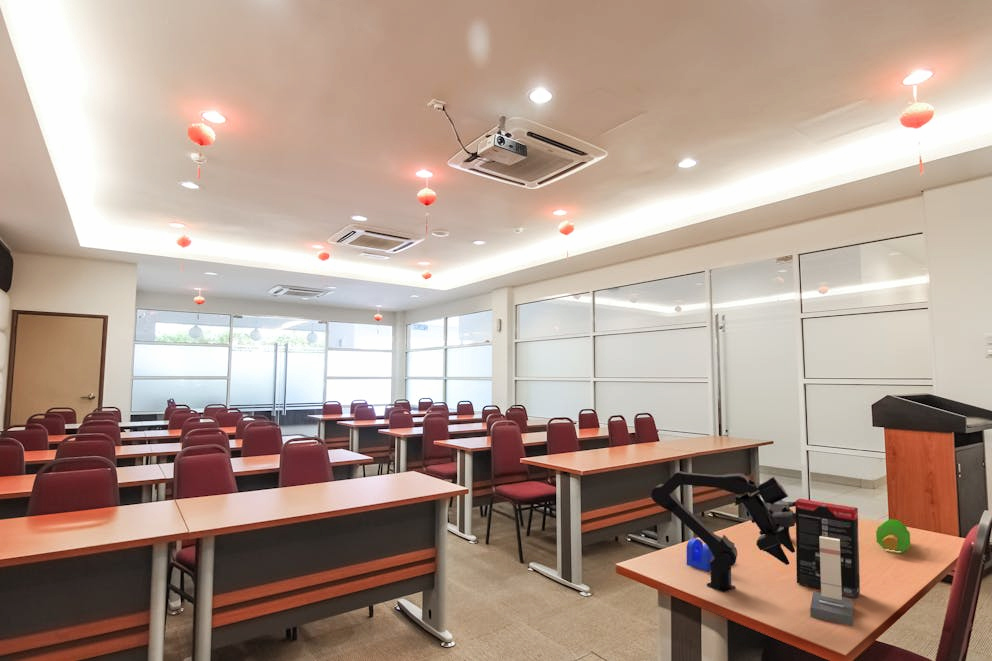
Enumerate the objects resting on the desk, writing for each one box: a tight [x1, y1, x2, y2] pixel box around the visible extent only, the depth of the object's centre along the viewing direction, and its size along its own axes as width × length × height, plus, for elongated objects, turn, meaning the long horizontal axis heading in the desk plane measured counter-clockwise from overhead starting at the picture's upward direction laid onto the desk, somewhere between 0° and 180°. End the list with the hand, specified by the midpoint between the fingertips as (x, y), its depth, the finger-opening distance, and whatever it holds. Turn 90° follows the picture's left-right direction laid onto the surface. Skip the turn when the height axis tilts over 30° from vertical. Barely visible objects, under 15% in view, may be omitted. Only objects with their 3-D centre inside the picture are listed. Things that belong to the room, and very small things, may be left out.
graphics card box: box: [794, 498, 861, 599], centre depth 172 cm, size 17×7×27 cm, turn 48°
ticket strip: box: [819, 536, 843, 600], centre depth 155 cm, size 5×2×16 cm, turn 56°
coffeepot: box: [762, 499, 796, 540], centre depth 226 cm, size 15×9×18 cm, turn 70°
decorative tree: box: [875, 518, 911, 553], centre depth 216 cm, size 11×12×30 cm
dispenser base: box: [809, 590, 854, 627], centre depth 154 cm, size 10×14×3 cm
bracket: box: [686, 537, 713, 573], centre depth 193 cm, size 18×8×9 cm, turn 124°
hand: (791, 558), depth 163 cm, fingers open, 9 cm apart
